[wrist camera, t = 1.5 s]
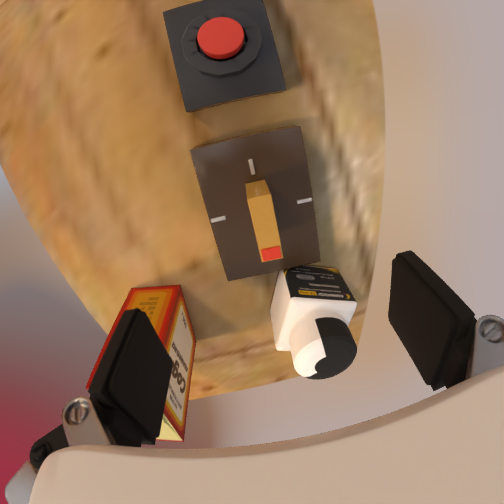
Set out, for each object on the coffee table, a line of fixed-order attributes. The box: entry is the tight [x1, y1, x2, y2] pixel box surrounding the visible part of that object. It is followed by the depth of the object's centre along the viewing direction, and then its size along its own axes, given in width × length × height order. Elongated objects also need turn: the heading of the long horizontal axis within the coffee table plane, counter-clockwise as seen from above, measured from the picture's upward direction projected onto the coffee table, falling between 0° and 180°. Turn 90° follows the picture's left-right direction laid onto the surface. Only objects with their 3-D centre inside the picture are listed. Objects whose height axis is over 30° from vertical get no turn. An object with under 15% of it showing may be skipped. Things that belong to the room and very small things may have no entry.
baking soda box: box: [86, 285, 196, 442], centre depth 27 cm, size 10×6×16 cm
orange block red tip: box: [246, 180, 283, 262], centre depth 24 cm, size 6×2×5 cm, turn 12°
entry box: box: [163, 0, 286, 112], centre depth 19 cm, size 11×9×4 cm
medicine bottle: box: [270, 265, 357, 379], centre depth 28 cm, size 7×7×12 cm
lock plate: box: [190, 125, 320, 281], centre depth 27 cm, size 14×10×3 cm
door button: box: [197, 17, 244, 59], centre depth 17 cm, size 4×4×2 cm
